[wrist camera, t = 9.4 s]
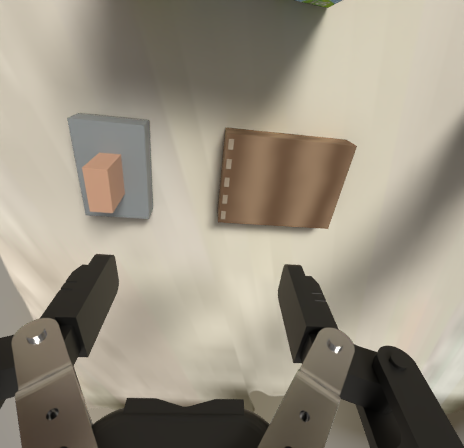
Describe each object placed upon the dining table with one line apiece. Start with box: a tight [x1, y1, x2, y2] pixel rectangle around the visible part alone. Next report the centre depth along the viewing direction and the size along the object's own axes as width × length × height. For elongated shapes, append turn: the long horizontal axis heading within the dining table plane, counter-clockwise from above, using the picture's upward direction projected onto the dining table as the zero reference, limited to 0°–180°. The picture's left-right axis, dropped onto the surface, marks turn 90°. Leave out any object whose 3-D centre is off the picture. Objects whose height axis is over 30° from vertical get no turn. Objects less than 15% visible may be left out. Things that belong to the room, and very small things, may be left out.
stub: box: [67, 113, 153, 219], centre depth 32 cm, size 8×12×8 cm, turn 173°
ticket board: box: [218, 128, 357, 229], centre depth 36 cm, size 16×12×3 cm
